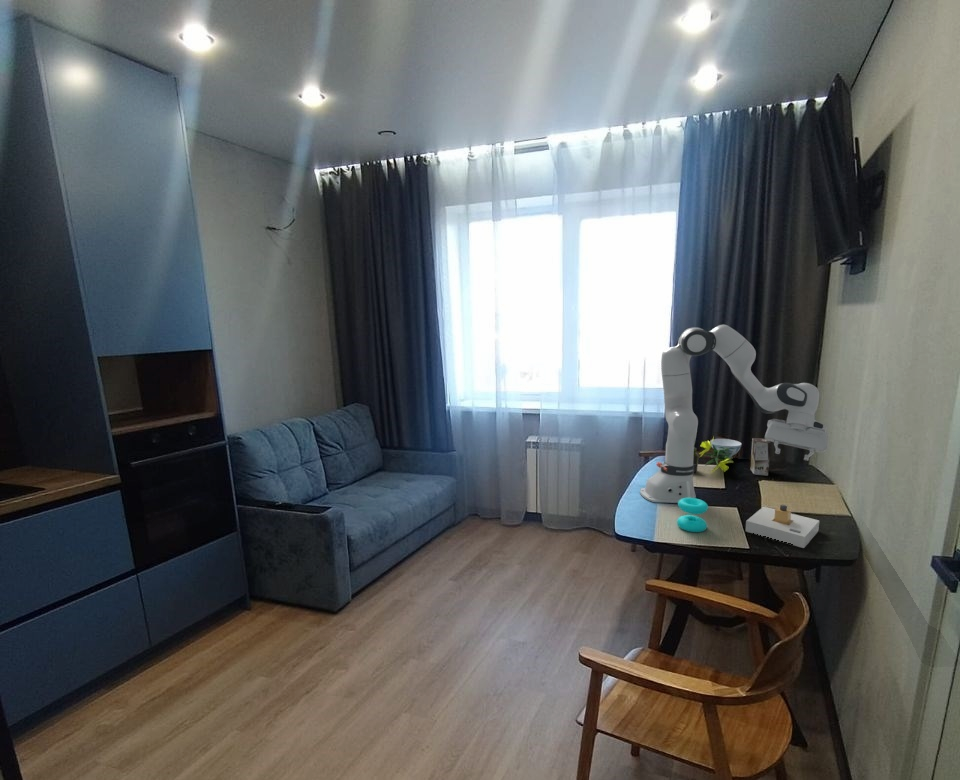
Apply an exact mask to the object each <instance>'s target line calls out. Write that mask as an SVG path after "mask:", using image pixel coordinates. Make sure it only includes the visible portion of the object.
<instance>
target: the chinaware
mask: <svg viewBox="0 0 960 780" xmlns="http://www.w3.org/2000/svg"><path fill="white" fill-rule="evenodd" d="M712 440H713V441H712ZM711 442H712V444H711ZM710 444H711V448H713V445H714V446H715V448H716V450H723V449H726V448H729V450H727V451H729V455H725V457H726V456H730V457H728V459H732V457H733V456H734V455H736V454H737V453H738V452H739V451H740V450H741V448H742V442H740V441H738V440H734V439H729V438H715V439H714V438H712V439H710ZM723 451H724V450H723Z"/></svg>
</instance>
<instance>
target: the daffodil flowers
mask: <svg viewBox="0 0 960 780" xmlns="http://www.w3.org/2000/svg"><path fill="white" fill-rule="evenodd" d="M713 439H714V436H713V438H712V439H711V440H712V441H713ZM711 440H710V441H711ZM710 441H709V440H707V441H706V440H704V441H701V444H700V446H699V447H701V448H704V450H702V451H700V452H699V453H698V455H700V456H699V458H701V457H703V455H705V456H710V458H711V460H709V461H707V462H706V463H705V464H704V466H705V467H706V466H709V465H710V464H712V463H713V464H714V463H716V464H715V465H716V466H715V467H714V468H713V469H712V471H711V473H710V474H711V475H712V474H713V473H714V472H715V471H717V470H718V469H719V468H720V469H721V471H723V473H725V472H726V471H728V470H729V469H730V468H729V466H728V465H726V464H731V463H733V460H732V459H733V458H734V456H732V457H731V458H728V457H730V456H726V457H725V455H729V451H727V450H729V448H726V449H723V450H724V451H723V450H716V448H715V446H714V445H713V448H712V446H711V444H712V442H710ZM709 451H710V452H711V453H710V452H709ZM707 452H709V453H707Z"/></svg>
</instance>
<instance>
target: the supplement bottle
mask: <svg viewBox="0 0 960 780" xmlns="http://www.w3.org/2000/svg"><path fill="white" fill-rule="evenodd" d="M697 452H698V451H697V447H695V446H694V458H693V464H694V474H696V473H698V468H699V453H697Z"/></svg>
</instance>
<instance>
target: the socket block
mask: <svg viewBox="0 0 960 780" xmlns="http://www.w3.org/2000/svg"><path fill="white" fill-rule="evenodd" d="M775 510H776V509H774V508H770V507H767V506H762V507H761V508H760V509H759V510H757V511H756V512H755V513H754V514H753V515H752V516H750V517H749V518H747V520H746V521H745V532H747V533H750V534H753V533H754V535H757V534H758V535H757V536H760V535H761V537H763V536H766V537H765V538H767V537H769V538H768V539H770V538H772V539H771V540H774V539H776V540H775V541H777V540H779V541H778V542H781V541H783V542H782V543H784V542H787V543H786V544H788V543H791V544H793V545H792V546H794V547H798V548H802V549H805V548H806V547H807V545H808V544H809V543H810V542H811V541H812V539H813V538H814V537H815V536H816V535H817V534H818V533H819V528H820V527H819V526H820V520H818V519H816V518H815V519H814V518H811V517H806V516H802V515H799V514H796V513H791V520H790V525H786V524H782V523H778V522H775V521H774V518H775ZM791 544H790V545H791Z"/></svg>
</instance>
